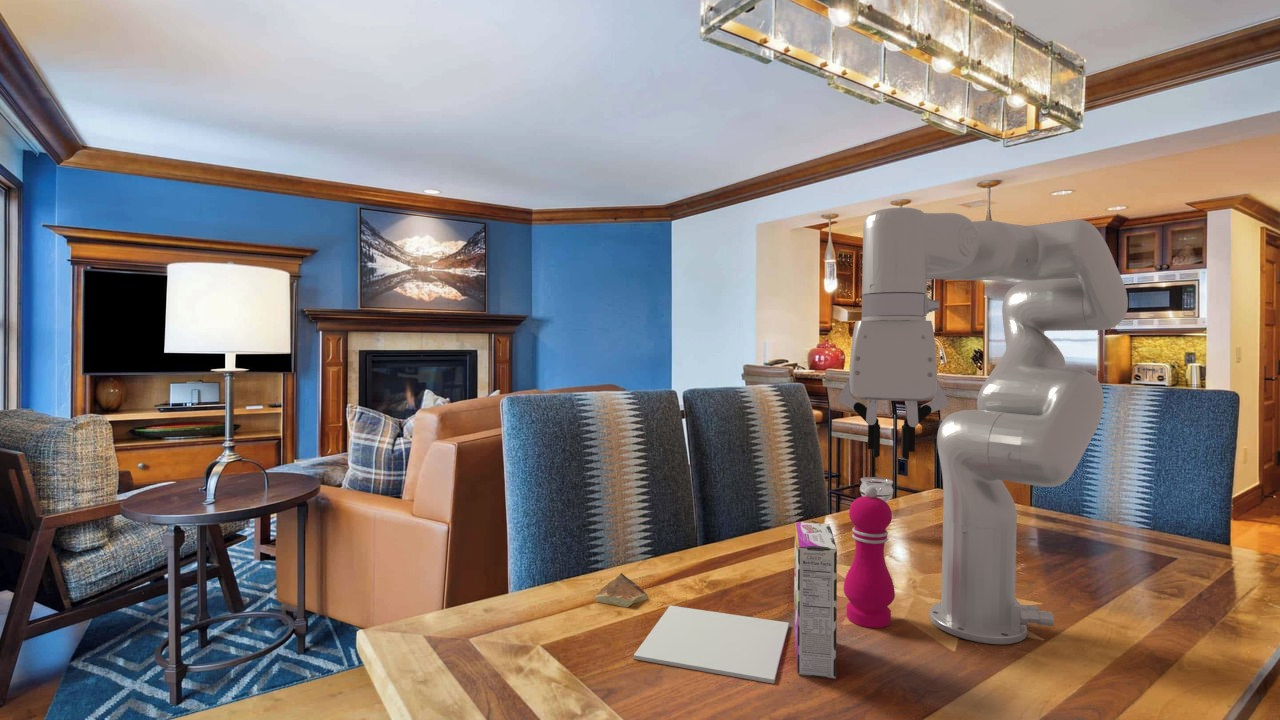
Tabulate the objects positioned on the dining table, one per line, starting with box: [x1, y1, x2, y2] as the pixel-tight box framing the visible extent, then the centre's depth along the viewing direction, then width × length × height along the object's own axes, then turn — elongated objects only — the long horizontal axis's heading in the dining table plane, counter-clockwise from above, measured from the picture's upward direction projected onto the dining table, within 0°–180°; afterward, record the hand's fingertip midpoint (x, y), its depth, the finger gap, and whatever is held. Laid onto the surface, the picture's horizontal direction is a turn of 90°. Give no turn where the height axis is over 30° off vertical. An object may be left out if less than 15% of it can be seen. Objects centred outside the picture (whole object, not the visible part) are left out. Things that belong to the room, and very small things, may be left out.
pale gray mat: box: [633, 605, 790, 684], centre depth 89 cm, size 18×17×1 cm
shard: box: [594, 572, 649, 608], centre depth 106 cm, size 11×8×2 cm
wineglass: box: [859, 476, 894, 503], centre depth 140 cm, size 7×7×12 cm
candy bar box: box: [793, 521, 838, 680], centre depth 85 cm, size 11×5×16 cm, turn 168°
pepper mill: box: [843, 486, 896, 629], centre depth 97 cm, size 7×7×20 cm
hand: (890, 455), depth 81 cm, fingers open, 2 cm apart
